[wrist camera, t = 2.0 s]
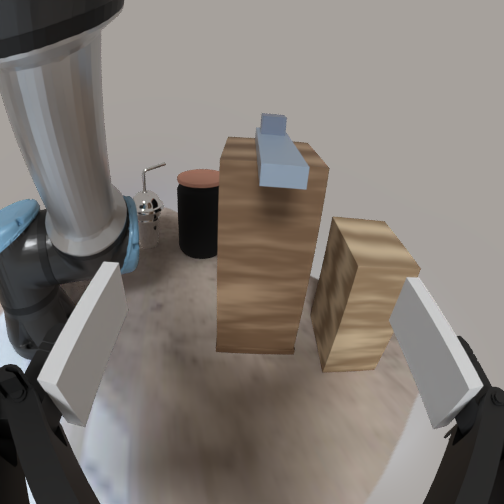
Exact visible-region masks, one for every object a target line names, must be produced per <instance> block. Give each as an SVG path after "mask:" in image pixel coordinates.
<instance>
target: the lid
mask: <svg viewBox="0 0 504 504" xmlns="http://www.w3.org/2000/svg"><path fill="white" fill-rule="evenodd" d="M286 119H287V118H286V117H285V116H284V115H277V114H265V113H262V116H261V128H256V137H255V144H256V154H257V165H258V176H259V186H268V187H281V188H294V189H305V190H306V189H307V182H308V174H309V166H308V164H307V163H306V161H305V160H304V158H303V157H302V155H301V154H300V152H299V151H298V149H297V148H296V146H295V145H294V143H293V142H292V141H291V139H290V137H289V136H288V134H287V133H286V132H285V130H286Z"/></svg>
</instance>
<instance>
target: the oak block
mask: <svg viewBox="0 0 504 504" xmlns="http://www.w3.org/2000/svg"><path fill="white" fill-rule="evenodd" d="M420 270H421V268H420V267H419V266H418V264H417V263H416V261H415V260H414V259H413V257H412V256H411V255H410V253H409V252H408V251H407V249H406V248H405V247H404V246H403V244H402V243H401V242H400V240H399V239H398V238H397V236H396V235H395V234H394V233H393V231H392V230H391V229H390V228H389V227H388V225H387V224H386V223H385V221H375V220H364V219H354V218H342V217H332V222H331V227H330V232H329V237H328V241H327V246H326V251H325V255H324V260H323V264H322V269H321V274H320V278H319V282H318V286H317V291H316V295H315V299H314V303H313V307H312V311H311V320H312V324H313V329H314V333H315V338H316V343H317V348H318V352H319V357H320V362H321V367H322V372H346V371H363V370H374V369H375V367H376V366H377V364H378V362H379V360H380V358H381V356H382V354H383V352H384V350H385V348H386V346H387V344H388V342H389V340H390V338H391V336H392V334H393V332H394V331H393V329H392V326H391V324H390V322H389V319H390V316H391V314H392V312H393V309H394V307H395V305H396V302H397V300H398V297H399V295H400V292H401V290H402V287H403V285H404V282H405V280H406V277H416V278H417V277H418V274H419V272H420Z"/></svg>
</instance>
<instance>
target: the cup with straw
mask: <svg viewBox="0 0 504 504" xmlns="http://www.w3.org/2000/svg"><path fill="white" fill-rule="evenodd" d="M165 165H166V164H165V163H161V164H158V165H155V166H152V167H149V168H146V169H144V170H143V173H142V181H143V191H141V192H138V193H137V194H136V195H135V196H134V198H133V199H134V201H135V204H136V209H137V216H138V225H139V241H140V243H141V247H142V248H145V249H151V248H154V247H156V246H157V245H158V239H159V218H160V214H161V210H162V209H163V208H164V205H163V202H162V201H161V200H160V199H159V197H158V196H157V194H155V193H154V192H152V191H149V190H146V183H145V173H146V171H149V170H152V169H155V168H158V167H161V166H165Z"/></svg>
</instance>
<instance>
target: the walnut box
mask: <svg viewBox="0 0 504 504" xmlns="http://www.w3.org/2000/svg"><path fill="white" fill-rule="evenodd" d="M292 142H293V141H292ZM293 143H294V145H295V146H296V148H297V149H298V151H299V152H300V154H301V155H302V157H303V158H304V160H305V161H306V163H307V164H308V166H309V174H308V182H307V189H306V190H305V189H294V188H281V187H268V186H259V176H258V165H257V154H256V144H255V138H240V137H228V139H227V141H226V144H225V147H224V150H223V152H222V155H221V158H220V171H219V203H218V251H217V341H216V352H228V353H249V354H294V350H295V348H294V344H295V340H296V336H297V331H298V327H299V323H300V318H301V314H302V310H303V305H304V301H305V296H306V292H307V287H308V282H309V277H310V273H311V268H312V262H313V258H314V253H315V248H316V243H317V237H318V232H319V227H320V221H321V216H322V210H323V204H324V198H325V193H326V187H327V180H328V174H329V167H328V166H327V165H326V164H325V162H324V161H323V160H322V159H321V158H320V157H319V155H318V154H317V153H316V152H315V151H314V150H313V149H312V148H311V146H310V145H309V144H308V143H302V142H293Z"/></svg>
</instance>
